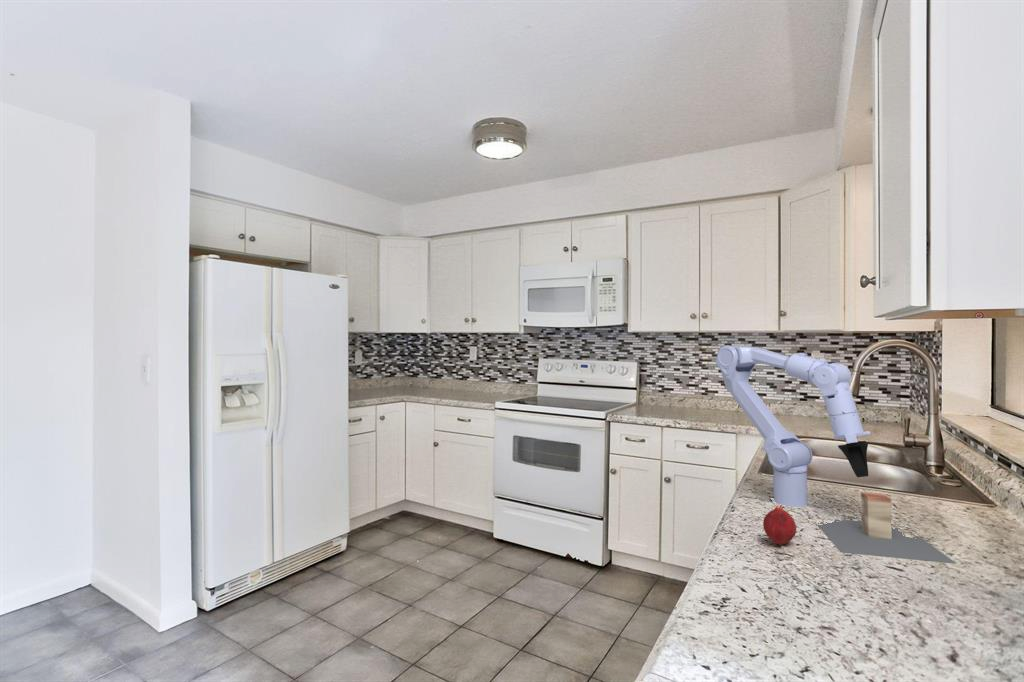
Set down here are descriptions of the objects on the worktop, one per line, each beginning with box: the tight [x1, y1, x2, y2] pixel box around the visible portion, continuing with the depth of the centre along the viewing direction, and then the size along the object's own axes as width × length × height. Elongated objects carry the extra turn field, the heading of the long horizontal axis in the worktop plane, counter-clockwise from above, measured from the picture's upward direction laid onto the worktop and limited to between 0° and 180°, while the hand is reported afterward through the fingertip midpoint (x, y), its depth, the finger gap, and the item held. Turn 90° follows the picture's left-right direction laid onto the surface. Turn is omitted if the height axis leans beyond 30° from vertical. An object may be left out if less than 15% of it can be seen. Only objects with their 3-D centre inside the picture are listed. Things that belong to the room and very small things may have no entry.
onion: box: [762, 504, 797, 546], centre depth 101 cm, size 6×6×8 cm
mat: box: [817, 518, 957, 565], centre depth 104 cm, size 22×18×1 cm
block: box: [860, 491, 892, 539], centre depth 106 cm, size 4×4×8 cm
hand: (861, 475), depth 114 cm, fingers open, 7 cm apart
